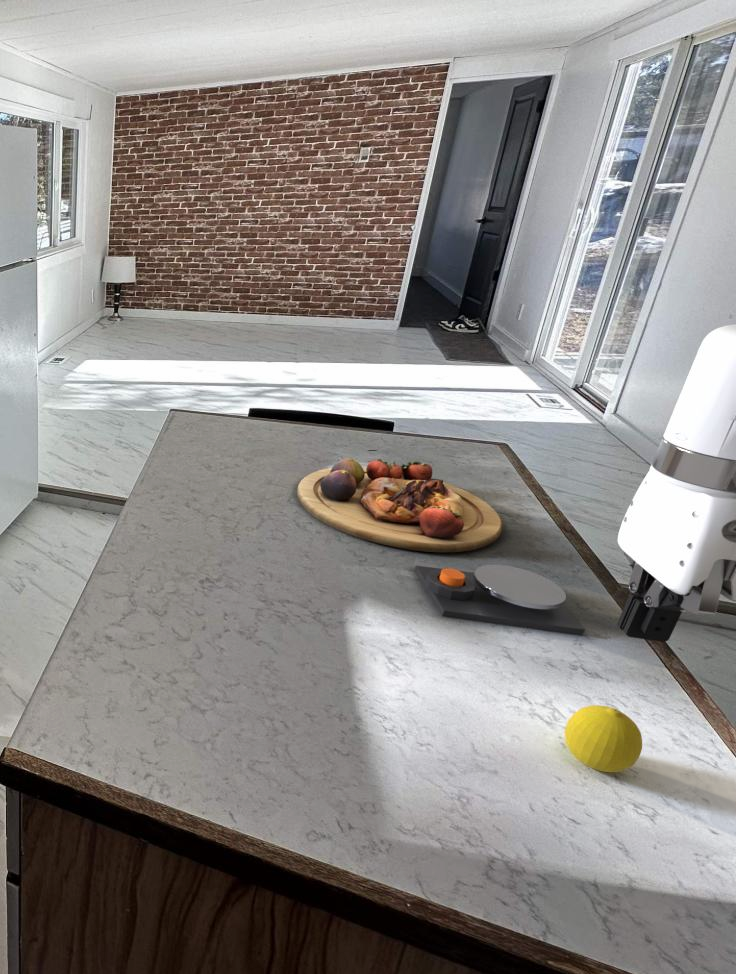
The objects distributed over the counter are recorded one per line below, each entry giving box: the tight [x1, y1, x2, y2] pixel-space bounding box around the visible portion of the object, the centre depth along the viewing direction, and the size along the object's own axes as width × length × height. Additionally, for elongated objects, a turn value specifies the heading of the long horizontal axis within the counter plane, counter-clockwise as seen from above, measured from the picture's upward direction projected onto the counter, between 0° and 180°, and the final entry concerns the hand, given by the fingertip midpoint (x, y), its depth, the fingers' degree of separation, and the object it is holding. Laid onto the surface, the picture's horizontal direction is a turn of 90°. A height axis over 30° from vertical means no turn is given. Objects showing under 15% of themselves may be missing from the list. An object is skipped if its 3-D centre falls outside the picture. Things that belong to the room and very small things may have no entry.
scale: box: [413, 565, 585, 637], centre depth 94 cm, size 16×12×4 cm
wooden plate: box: [296, 457, 504, 553], centre depth 120 cm, size 32×32×8 cm
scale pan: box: [474, 564, 567, 610], centre depth 92 cm, size 10×10×1 cm
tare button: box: [439, 567, 465, 587], centre depth 95 cm, size 3×3×2 cm
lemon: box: [564, 704, 643, 773], centre depth 67 cm, size 6×6×8 cm
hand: (641, 633), depth 63 cm, fingers closed
